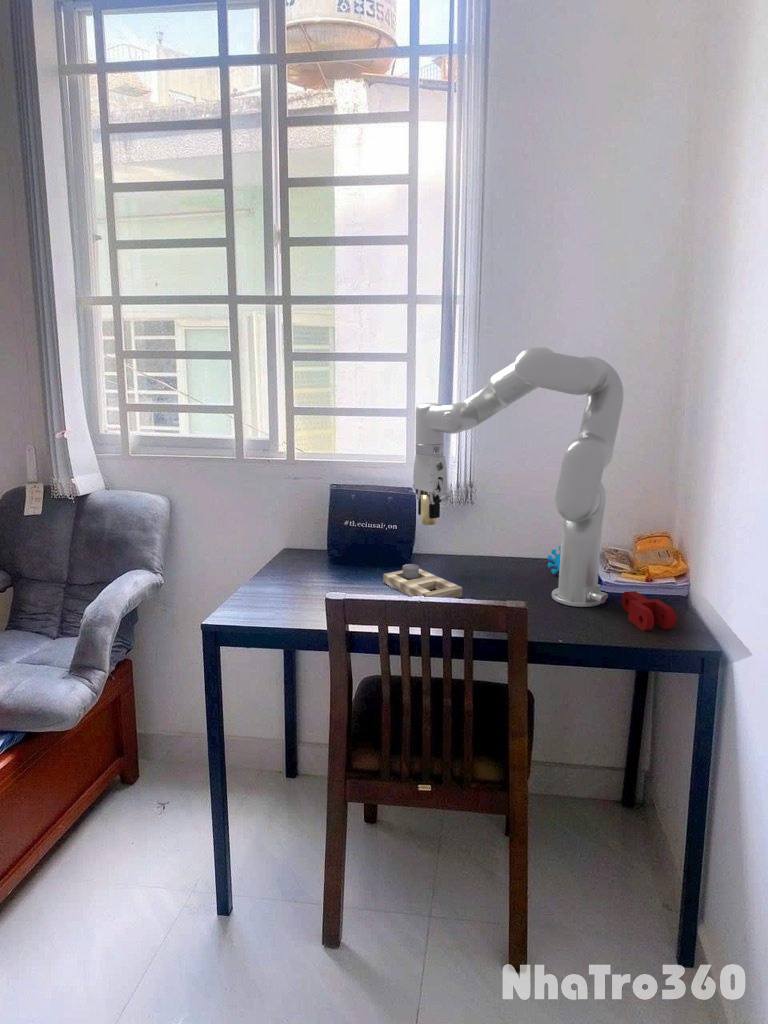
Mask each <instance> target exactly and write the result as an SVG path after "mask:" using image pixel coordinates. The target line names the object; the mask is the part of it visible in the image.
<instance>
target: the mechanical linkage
mask: <svg viewBox="0 0 768 1024" xmlns="http://www.w3.org/2000/svg"><path fill="white" fill-rule="evenodd" d="M621 606H622V610H624V611H625V612H627V613H628V616H627V617H628V618H627V620H628V622H630V623H631V624H633V625H634V626H635V627H637V628H639V629H640V630H641V631H642V632H643V631H651V630H652V629H653V628H654V625H658V627H660V628H662V629H663V630H668V629H669V630H670V629H674V627H675V626H676V622H677V617H676V613H675V609H674V608H673V607H671V606H670V605H668V604H666V603H665V602H664V601H662V600H660V599H659V598H655V599H654V598H652V599H648V598H647V597H646V596H644V595H642V594H640V593H639V592H638V591H635V590H634V591H624V592H623V593H622V596H621Z"/></svg>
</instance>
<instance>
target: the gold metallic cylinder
mask: <svg viewBox="0 0 768 1024" xmlns="http://www.w3.org/2000/svg"><path fill="white" fill-rule="evenodd" d="M436 496H437V495H436V494H435V495H434V498H435V497H436ZM429 504H431V501H430V493H423V494H421V515H420V524H421V525H424V526H434V525H436V524H438V518H433V519H430V518H429Z"/></svg>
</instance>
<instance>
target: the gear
mask: <svg viewBox="0 0 768 1024" xmlns="http://www.w3.org/2000/svg"><path fill="white" fill-rule="evenodd" d="M558 550H559V552H558V554H557V550H556V548H554V549H551V550H550V551H551V552H550V553H551V554H552V555H553V556H554V557H555V558H553V556H552V555H551V554H548V556H547V561H549V562H547V568H548V569H551V568H552V569H551V570H550V571H551V574H552V575H555V574H557V572H559V569H560V553H561V545H559V546H558ZM550 561H551V562H550ZM552 562H553V563H552Z"/></svg>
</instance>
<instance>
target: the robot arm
mask: <svg viewBox="0 0 768 1024" xmlns="http://www.w3.org/2000/svg"><path fill="white" fill-rule="evenodd" d="M538 388H541V389H545V390H550V391H555V392H559V393H564V394H568V395H573V396H575V395H576V396H584V395H586V404H585V407H584V410H583V412H582V418H581V424H580V429H579V432H578V435H577V438H575V439H574V440H572V441H571V442H570V443H569V444H568V446H567V447H566V450H565V452H564V454H563V458H562V462H561V466H560V471H559V476H558V481H557V485H556V491H555V496H554V504H555V508H556V511H557V512H558V514H559V515H560V516H561V517H562V525H561V527H562V528H561V539H560V546H561V553H560V552H559V553H560V569H559V571H558V572H559V573H558V584H557V585H558V587H557V588H555V589H553V590H552V591H551V598H552V599H553V600H554V601H555V602H557V603H559V604H563V605H566V606H570V607H578V608H579V607H580V608H584V607H585V608H589V607H595V606H598V605H601V604H604V603H605V602H606V601H607V599H608V598H609V594H608V593H606V592H603V591H602V585H601V584H599V573H600V572H599V571H600V570H599V569H600V556H601V543H602V532H603V523H604V521H603V520H604V516H605V515H604V514H605V509H606V499H607V494H606V489H605V486H604V484H603V483H602V479H603V478H602V477H603V475H604V474H603V473H604V471H605V470H604V469H606V468H607V467H608V466H609V465H610V463H611V461H612V460H613V455H614V448H615V444H616V440H617V434H618V430H619V424H620V419H621V413H622V409H623V403H624V387H623V382H622V380H621V377H620V375H619V373H618V372H617V370H616V369H615V368H614V367H613V366H612V365H611V364H610V363H608V362H607V361H605V360H604V359H602V358H599V357H597V356H582V357H581V356H575V355H574V356H573V355H568V354H564V353H557V352H555V351H553V350H551V349H550V348H547V347H545V346H544V347H543V346H541V347H540V346H539V347H538V346H537V347H529V348H526V349H525V350H523V351H522V352H520V353H519V354H518V356H517V357H516V358H515V361H513V362H512V363H509V365H507V366H506V367H504V368H501V370H499V371H498V372H496V373H494V374H493V375H492V376H491V377H490V378H489V380H488V383H487V384H486V385H485V387H483V388H482V389H481V390H479V391H477V392H476V393H474V394H473V395H471V396H470V397H469V398H467V399H465V400H463V401H462V402H456V403H452V404H447V405H446V404H445V405H443V404H441V403H436V402H424V403H419V404H418V405H416V408H415V455H414V456H415V457H414V460H413V461H414V462H413V477H412V478H413V484H412V488H413V490H414V491H415V494H416V500H417V503H418V504H417V514H418V515H419V516H421V494H423V493H430V501H431V504H429V518H430V519H433V518H437V519H439V518H440V516H441V511H440V510H441V504H442V500H443V499H444V498H445V497H446V496H447V491H448V472H447V469H448V468H447V461H446V457H445V455H444V447H445V445H444V442H445V441H444V438H445V437H444V436H445V434H450V435H452V434H458V433H462V432H465V431H469V430H472V429H473V428H475V427H477V426H479V425H480V424H482V423H484V422H485V421H487V420H489V419H491V417H493V416H495V415H497V414H499V412H501V411H502V410H504V409H506V408H508V407H509V406H510V405H513V404H514V403H515V402H517V401H519V400H520V399H521V398H523V397H525V396H526V395H528V394H530V393H531V392H533V391H535V390H537V389H538ZM435 494H436V495H437V496H436V497H435V498H434V495H435Z"/></svg>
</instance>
